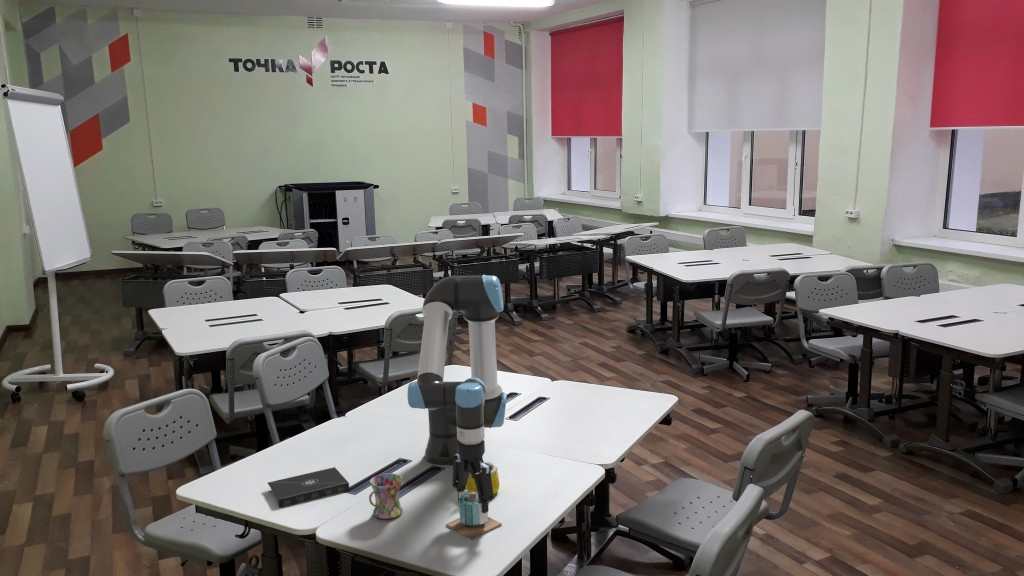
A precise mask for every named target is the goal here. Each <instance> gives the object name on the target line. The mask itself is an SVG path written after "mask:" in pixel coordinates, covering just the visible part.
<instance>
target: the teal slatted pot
mask: <svg viewBox="0 0 1024 576" xmlns="http://www.w3.org/2000/svg"><path fill="white" fill-rule="evenodd" d="M476 495H477V496H478V501H480V499H479V495H478V493H476ZM468 496H469V493H467V494H464V495H462V496H461V497H460V498H459V501H458V509H459V510H458V511H459V518H460V521H461V522H462V523H464V524H466V525H478V524H479V518H478V502H473V503H471V502H468V499H467V497H468Z"/></svg>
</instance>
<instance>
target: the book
mask: <svg viewBox="0 0 1024 576" xmlns="http://www.w3.org/2000/svg"><path fill="white" fill-rule="evenodd" d="M267 485H268V486H269V488H270V490H271V491H273V492H272V493H273V495H274V496H275V498H276V499H278V500H277V501H278V508H279V509H280V508H281V509H282V508H284V507H285V508H286V507H288V506H289V507H290V506H293V505H297V504H301V503H305V502H308V501H309V500H310V501H312V500H317V499H322V498H325V497H330V496H333V495H337V494H342V493H345V492H349V491H350V483H349V482H348V480H347V479H346V478H345V477H344V476H343V474H342V473H341V472H340V471H339V470H338V469H337V468H336V467H335V466H333V467H330V468H325V469H320V470H317V471H316V470H315V471H312V472H309V473H303V474H297V475H294V476H290V477H285V478H282V479H277V480H273V481H269V482H267ZM310 501H309V502H310Z"/></svg>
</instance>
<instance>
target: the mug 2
mask: <svg viewBox="0 0 1024 576" xmlns="http://www.w3.org/2000/svg"><path fill="white" fill-rule="evenodd" d="M484 464H485V465H491V480H492V487H493V495H495V494H497V493H498V492H499V489H500V478H499V474H498V467H497V466H496V464H494V463H491V462H485V461H484ZM478 473H479V472H478ZM478 473H476V474H478ZM466 486H467V487H468V488H466V489H464V490H468V493H470V492H476V493H478V491H477V488H476V484H475V481H474V478H472V476H471V473H470V474H469V478H468V481H467V485H466Z"/></svg>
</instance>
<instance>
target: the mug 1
mask: <svg viewBox="0 0 1024 576" xmlns="http://www.w3.org/2000/svg"><path fill="white" fill-rule="evenodd" d="M402 482H403V477H402V476H401V475H400V474H398V473H393V472H391V473H387V472H385V473H380V474H377V475H375V476H373V477H372V478H371V479H369V484H370V486H371V488H372V491H371V492H370V494H369V496H368V501H369V503H370V505H371V506H373V507H374V509H373V512H372V514H373V515H374V517H376V518H379V519H384V520H389V519H393V518H396V517H398V516H400V515H401V514H402V513H403V511H404V510H403V506H402V505H401V502H400V488H401V484H402ZM373 494H374V499H375V502H374V503H375V504H374V503H373V501H372V497H373Z"/></svg>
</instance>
